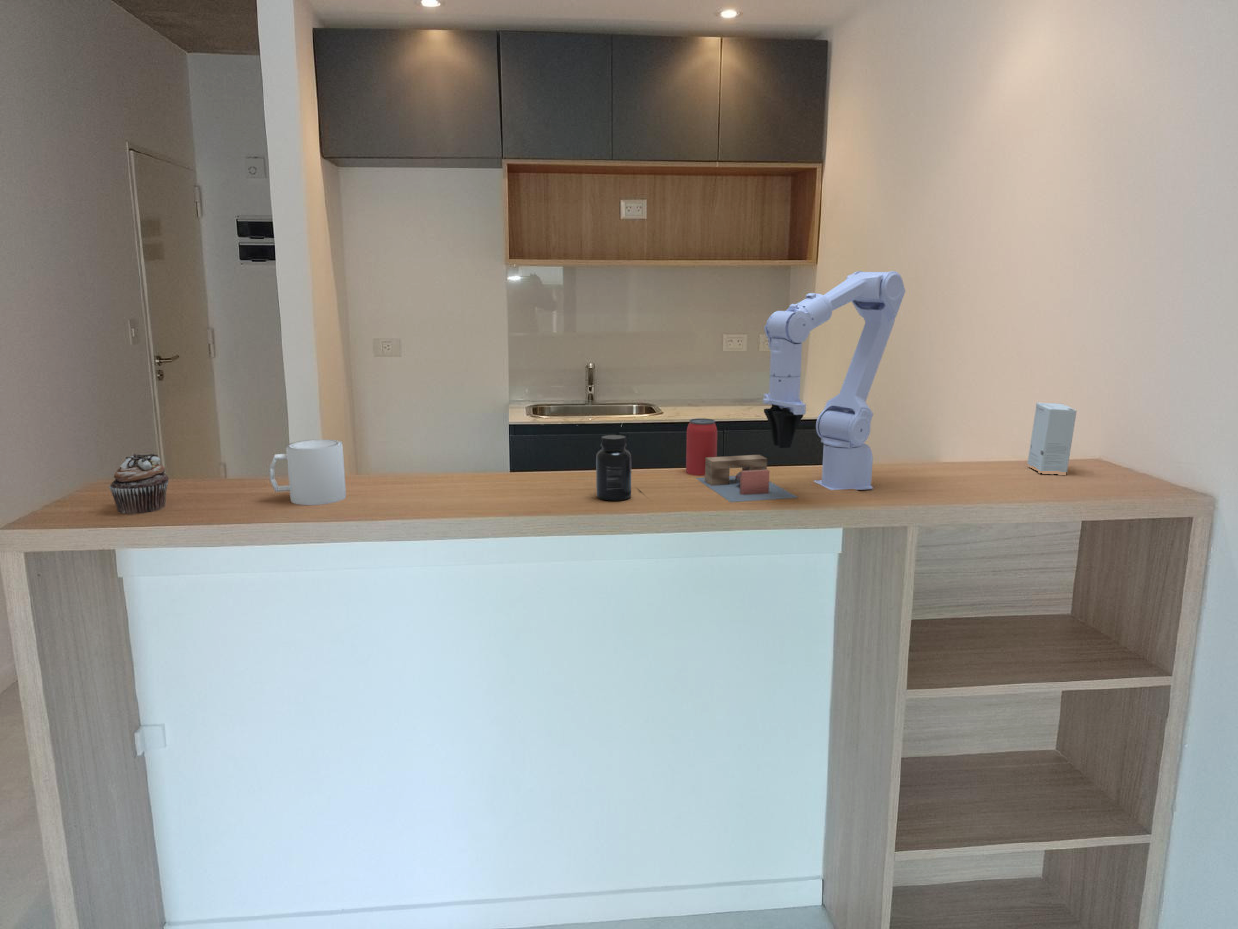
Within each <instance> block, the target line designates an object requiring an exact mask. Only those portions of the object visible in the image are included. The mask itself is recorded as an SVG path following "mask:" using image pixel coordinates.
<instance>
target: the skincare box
mask: <svg viewBox="0 0 1238 929" xmlns="http://www.w3.org/2000/svg"><path fill="white" fill-rule="evenodd" d="M1034 412H1035V413H1034V419H1033V425H1032V432H1031V438H1030V443H1029V444H1030V445H1029V452H1028V457H1027V459H1028V460H1027V463H1026V464H1029V465H1030V466H1034V467H1036V468H1037V469H1038V470H1040V471H1059V472H1060V471H1061V472H1067V473H1068V469H1069V461H1070V455H1071V448H1072V443H1073V437H1074V430H1075V429H1074V428H1075V423H1076V417H1077V410H1076V409H1074V408H1072V407H1071V406H1069V405H1065V404H1064V403H1063V404H1062V403H1054V402H1051V403H1050V402H1048V403H1047V402H1036V404H1035V411H1034Z"/></svg>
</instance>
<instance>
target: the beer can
mask: <svg viewBox="0 0 1238 929" xmlns="http://www.w3.org/2000/svg"><path fill="white" fill-rule="evenodd" d="M688 422H689V423H688V425H687V428H686V446H685V447H686V448H685V449H686V450H685V451H686V452H685V453H686V454H685V473H686V474H688V475H691V476H697V477H698V476H699V477H700V476H701V477H703V476H704V477H705V458H706V457H718V455H717V454H718V427H717V425H716V420H715V419H712V418H706V417H705V418H703V417H702V418H691V419H689V421H688Z"/></svg>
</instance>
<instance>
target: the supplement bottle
mask: <svg viewBox="0 0 1238 929" xmlns="http://www.w3.org/2000/svg"><path fill="white" fill-rule="evenodd" d="M600 439H601V440H600V447H601V449H600V450H598V452H597V453H596V457H595V467H596V468H595V473H596V478H595V479H596V485H595V486H596V497H597V498H598V499H600V500H602V501H609V502H611V501H613V502H617V501H625V500H628V499H629V498H630V497H631V496H632V453H630V451H629V450H627V449H626V447H627V443H626V442H627V437H626V436H624V435H620V434H619V435H616V434H608V435H603V436H601V438H600Z"/></svg>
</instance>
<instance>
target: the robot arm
mask: <svg viewBox="0 0 1238 929" xmlns="http://www.w3.org/2000/svg"><path fill="white" fill-rule="evenodd" d="M905 293H906V288H905V284H904V281H903V278H902V276H901V274H900V273H899V272H897V271H896V270H895V271H894V270H891V271H862V270H861V271H860V270H858V271H855V272H853V273H852V274H848V275H847V276H846V279H845V280H844V281H842V282H841V283H839V284H838V285H837V286H835V287H833V288H832V289H830V290H829V291H827V292H825V293H824V294H821V293H815V292H809V293H807V294H806V295H805V298H804V299H803V300H801V301H798V302H797V303H791V304H790V305H789V307H788V308H787V309H786V310H776V311H775V312H773V313H772V314H771V315H770V316H768V319H767V321H766V325H764V328H763V329H764V333H765V336H766V338H767V342H768V348H769V350H770V354H769V355H770V359H769V361H770V363H769V379H768V380H769V383H768V393H763V399H762V403H763V404H764V405H770V408H763V414H764V415H765V417H766V420H767V421H768V424H769V429H770V433H771V438H772V444H773V446H778V448H779V449H791V446H792V444H793V440H794V437H795V433H796V430H797V428H798V426H799V424H800V421H802V419H803V417H804V415H806V410H807V404H806V403H804V402H803V401H802V399H801V398H800V395H801V394H800V393H801V391H800V390H801V374H802V373H801V372H802V355H803V354H802V352H803V351H802V350H803V349H802V348H803V342H805V341H806V340H807V339H808V337H809V335H810V332H811V331H813V330H814V329H816V328H817V327H819V326H821V325H822V324H824V323H826V322H828V321H829V320H830V319H831V317H832V315H833V311H835V310H837V309H840V308H841V307H843V306H845V305H847V304H848V303H852V305H853V306H854V309H855V310H856V312H857V313H858V315H859V316H860V317H861V318H863V321H864V325H863V328H862V331H861V334H860V337H859V339H858V342H857V343H856V344H857V345H856V347H855V350H854V353H853V356H852V358H851V361H850V364H849V367H848V369H847V372H846V374H845V377H844V380H843V383H842V386H841V388H840V391H839V393H838V394H837V395H835V396H834V397H832V398H830V399H829V400H827V401H826V403H825V406H824V408H823V409H822V411H820V413H819V414H818V416H817V419H816V423H815V430H816V435H817V436H818V437H819V438H820V443H823V451H822V452H823V454H822V469H821V479H819V480H813V482H814V483H816V484H818V485H820V486H821V487H823V488H826V489H828V490H831V491H835V490H836V491H839V490H852V489H853V490H856V491H861V490H862V491H863V490H865V491H866V490H873V486H872V476H873V475H872V474H873V473H872V472H873V459H874V458H873V453H872V449H871V447H870V445H868V444H867V443H866V441H867V440H868V439H869V436H870V433H871V426H872V425H871V423H872V419H873V416H874V412H873V411H872V409H871V408H870V407H869V405H868V404H867V398H868V396H869V393H870V390H871V387H872V385H873V383H874V382H873V381H874V380H875V376H876V373H877V371H878V369H879V366H880V363H881V361H882V358H883V354H884V352H885V349H886V347H887V344H888V341H889V339H890V336H891V333H892V330H893V327H894V325H895V320H896V317H897V316H898V314H899V310H900V307H901V304H902V301H903V299H904V296H905Z"/></svg>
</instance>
